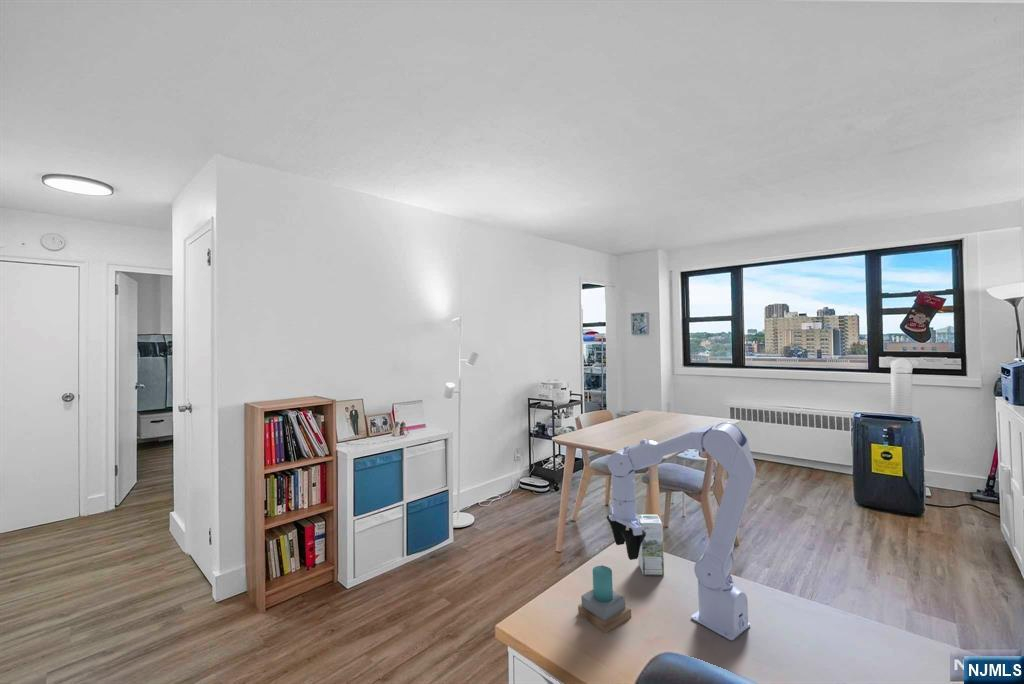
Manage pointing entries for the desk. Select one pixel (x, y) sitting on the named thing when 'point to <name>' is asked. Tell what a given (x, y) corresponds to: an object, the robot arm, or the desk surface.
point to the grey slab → (603, 605)
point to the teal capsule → (602, 584)
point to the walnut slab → (608, 623)
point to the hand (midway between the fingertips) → (626, 551)
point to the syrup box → (651, 545)
